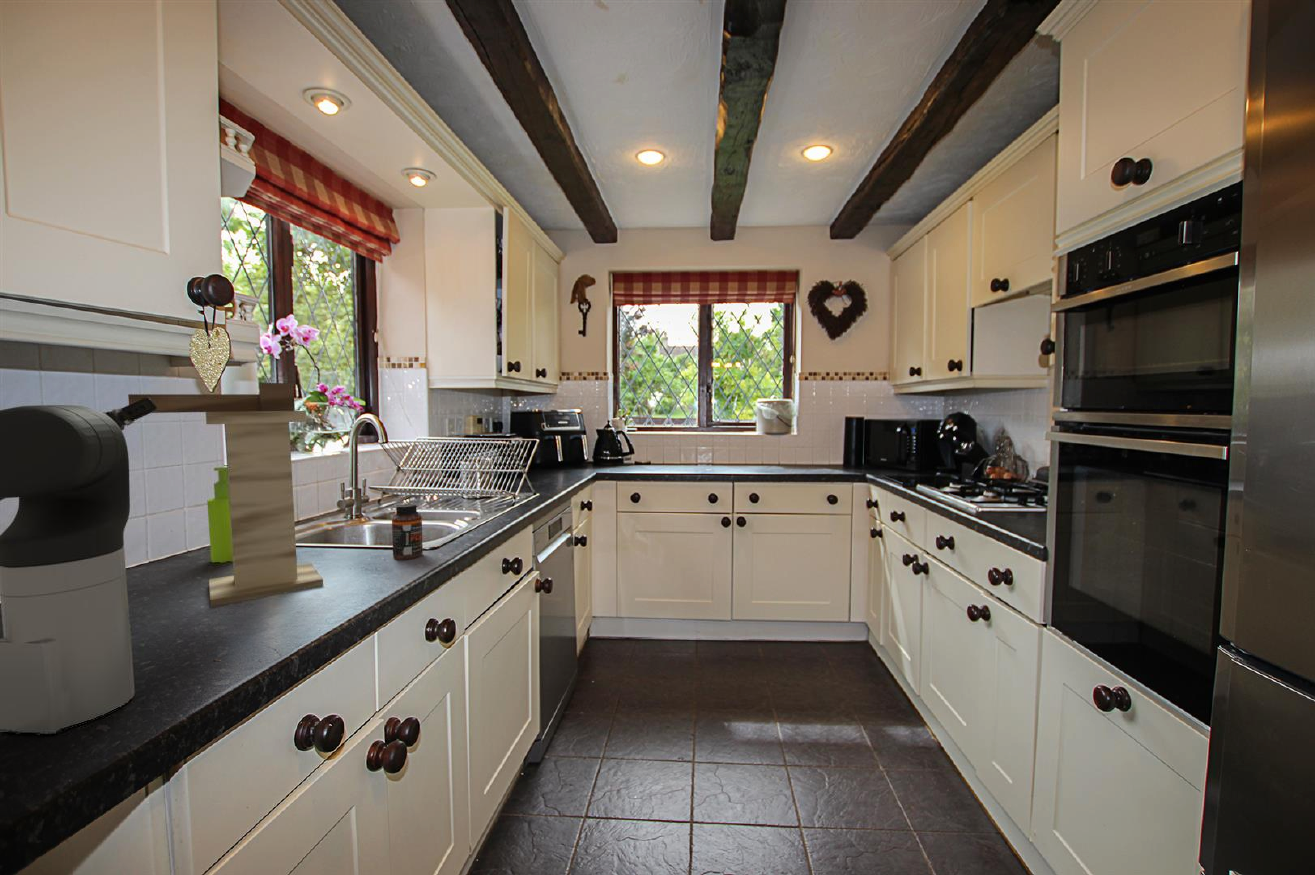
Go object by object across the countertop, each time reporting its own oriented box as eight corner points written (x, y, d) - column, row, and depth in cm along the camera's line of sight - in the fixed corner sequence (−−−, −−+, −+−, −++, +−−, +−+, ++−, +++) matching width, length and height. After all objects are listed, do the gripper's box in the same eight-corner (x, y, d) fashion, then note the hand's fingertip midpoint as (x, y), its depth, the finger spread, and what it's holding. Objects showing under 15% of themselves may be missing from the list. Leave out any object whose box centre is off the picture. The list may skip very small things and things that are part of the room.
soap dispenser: (226, 564, 115) (220, 469, 113) (204, 561, 117) (198, 468, 116) (255, 556, 120) (249, 465, 119) (234, 554, 123) (228, 464, 121)
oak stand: (323, 585, 101) (314, 410, 99) (210, 607, 90) (198, 412, 88) (311, 568, 111) (302, 410, 109) (209, 585, 101) (198, 411, 99)
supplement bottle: (415, 560, 116) (413, 507, 116) (387, 560, 116) (385, 507, 116) (427, 552, 122) (425, 502, 121) (401, 552, 122) (399, 502, 122)
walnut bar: (294, 410, 100) (293, 383, 99) (128, 413, 87) (126, 381, 86) (293, 410, 104) (291, 384, 103) (133, 412, 91) (131, 382, 90)
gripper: (-4, 439, 75) (134, 381, 83) (21, 435, 86) (141, 383, 94) (41, 483, 78) (170, 423, 86) (60, 474, 88) (172, 421, 97)
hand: (154, 402), depth 90 cm, fingers open, 8 cm apart
